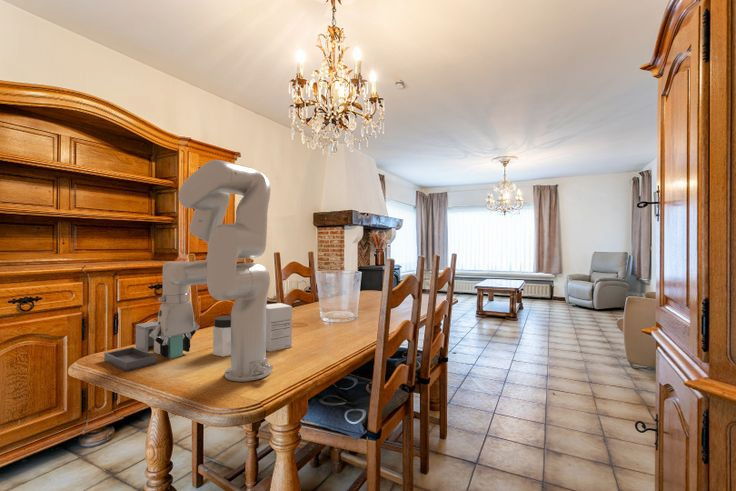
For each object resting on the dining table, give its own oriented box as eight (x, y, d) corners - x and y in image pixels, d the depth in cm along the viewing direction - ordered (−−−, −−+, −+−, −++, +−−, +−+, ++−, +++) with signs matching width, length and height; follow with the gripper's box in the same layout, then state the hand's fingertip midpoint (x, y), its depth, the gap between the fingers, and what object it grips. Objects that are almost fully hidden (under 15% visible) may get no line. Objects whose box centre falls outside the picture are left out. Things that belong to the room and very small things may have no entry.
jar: (215, 358, 111) (215, 321, 111) (210, 351, 118) (211, 316, 118) (243, 353, 116) (243, 318, 116) (238, 347, 123) (238, 314, 123)
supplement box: (257, 346, 125) (258, 305, 125) (280, 341, 131) (280, 302, 131) (269, 352, 118) (269, 308, 118) (292, 347, 124) (292, 305, 124)
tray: (156, 363, 106) (156, 355, 106) (126, 371, 99) (126, 363, 99) (132, 354, 115) (132, 346, 115) (104, 360, 108) (104, 353, 108)
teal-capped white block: (182, 355, 114) (182, 335, 114) (170, 358, 111) (170, 338, 111) (166, 349, 120) (166, 330, 120) (153, 352, 117) (153, 333, 117)
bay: (190, 341, 130) (190, 315, 130) (144, 352, 117) (144, 323, 117) (180, 338, 134) (180, 313, 133) (135, 348, 121) (135, 320, 121)
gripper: (153, 304, 104) (152, 363, 104) (207, 297, 118) (206, 349, 118) (141, 301, 108) (141, 358, 108) (195, 295, 122) (194, 345, 122)
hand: (175, 353), depth 113 cm, fingers open, 6 cm apart
